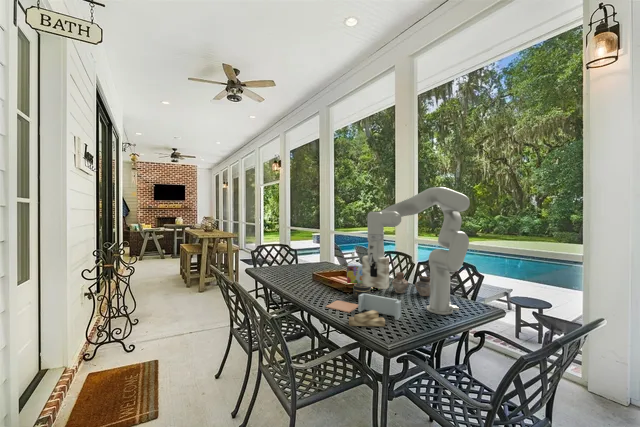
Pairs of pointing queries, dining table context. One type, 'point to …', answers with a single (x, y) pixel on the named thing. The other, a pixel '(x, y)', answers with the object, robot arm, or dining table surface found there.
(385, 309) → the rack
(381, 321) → the block
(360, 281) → the snack box
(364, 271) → the cream block
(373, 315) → the offcut top
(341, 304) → the tile
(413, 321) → the dining table surface
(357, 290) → the jar
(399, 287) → the pottery
